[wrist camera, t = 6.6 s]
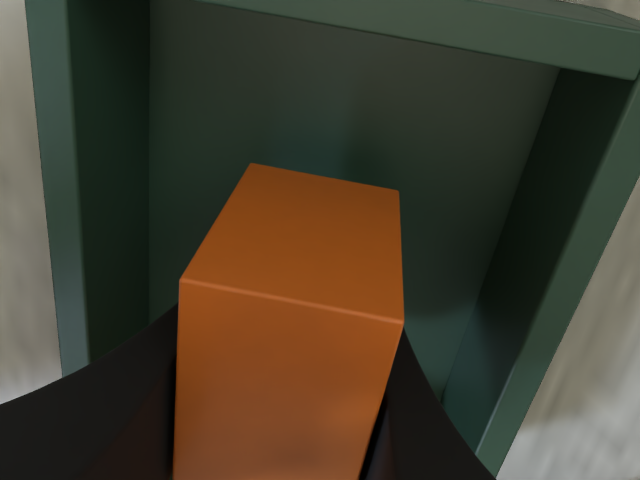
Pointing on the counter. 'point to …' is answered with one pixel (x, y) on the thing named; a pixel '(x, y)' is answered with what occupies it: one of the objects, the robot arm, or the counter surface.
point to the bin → (345, 161)
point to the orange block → (288, 330)
